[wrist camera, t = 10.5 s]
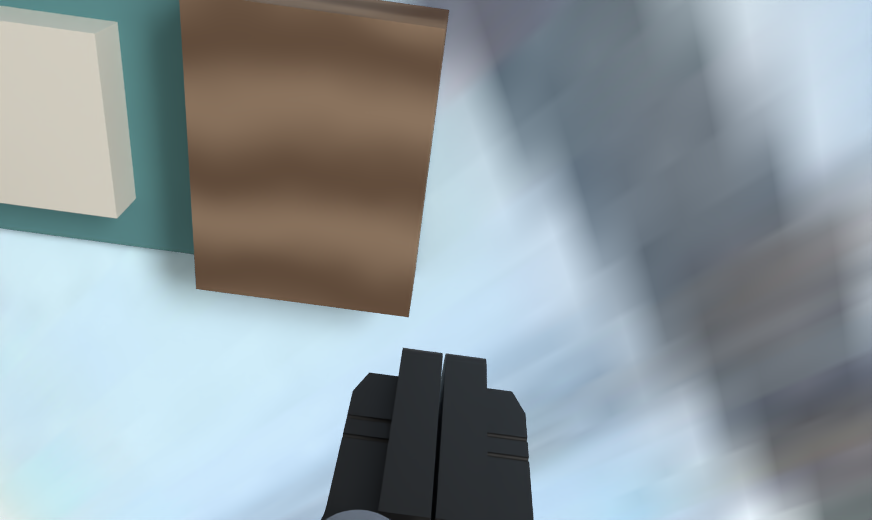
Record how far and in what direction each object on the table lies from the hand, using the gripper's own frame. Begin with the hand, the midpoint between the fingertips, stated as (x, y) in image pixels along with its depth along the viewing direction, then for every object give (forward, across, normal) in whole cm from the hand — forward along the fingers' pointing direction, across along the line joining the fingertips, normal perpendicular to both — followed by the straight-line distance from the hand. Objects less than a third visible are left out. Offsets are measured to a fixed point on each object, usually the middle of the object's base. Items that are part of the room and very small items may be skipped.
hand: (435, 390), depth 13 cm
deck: (+27, +7, +7) cm, 29 cm away
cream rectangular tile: (+24, +21, +7) cm, 33 cm away
